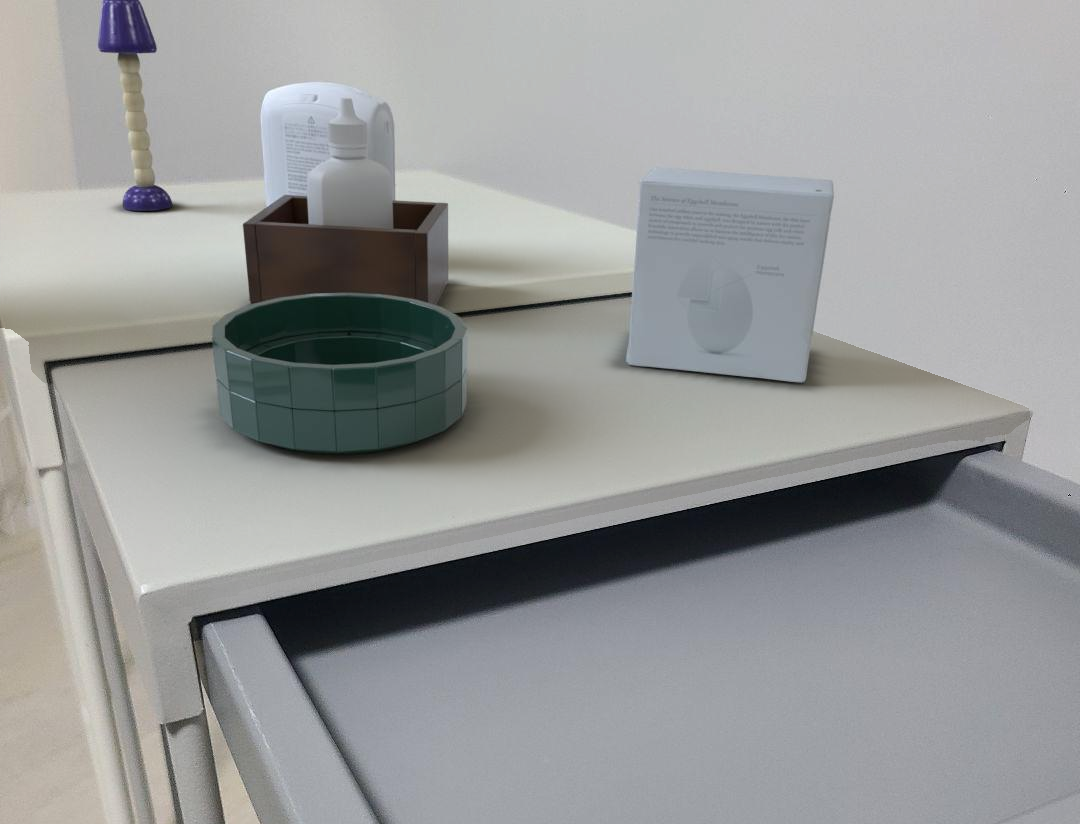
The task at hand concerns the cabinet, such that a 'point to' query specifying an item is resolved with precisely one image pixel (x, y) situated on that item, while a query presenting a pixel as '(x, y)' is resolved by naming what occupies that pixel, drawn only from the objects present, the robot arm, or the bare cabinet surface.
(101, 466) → the cabinet surface
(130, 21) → the toy lamp
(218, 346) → the bowl
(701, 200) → the cosmetics box
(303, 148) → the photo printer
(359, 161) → the eye dropper bottle
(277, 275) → the holder
